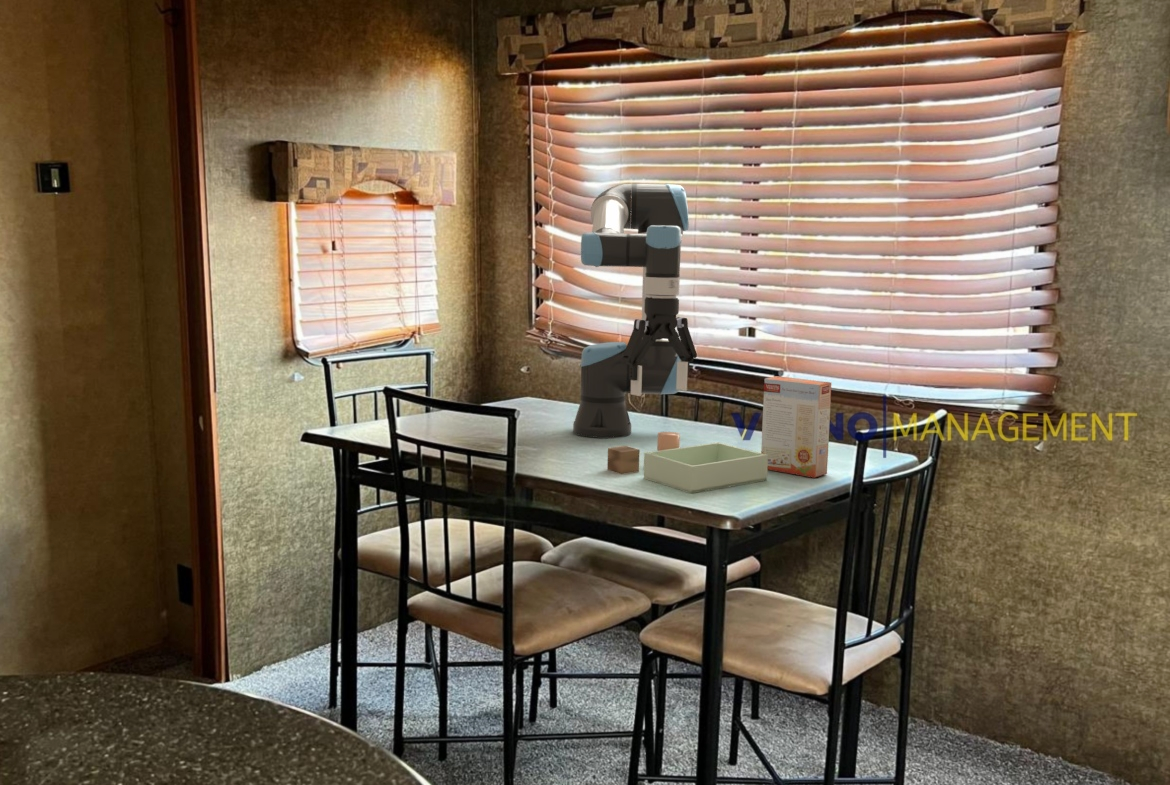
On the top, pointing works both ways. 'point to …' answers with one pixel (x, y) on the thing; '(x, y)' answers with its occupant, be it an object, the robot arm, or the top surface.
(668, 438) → the terracotta cylinder
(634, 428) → the top surface
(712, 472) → the sage tote
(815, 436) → the cracker box
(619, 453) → the walnut cube
